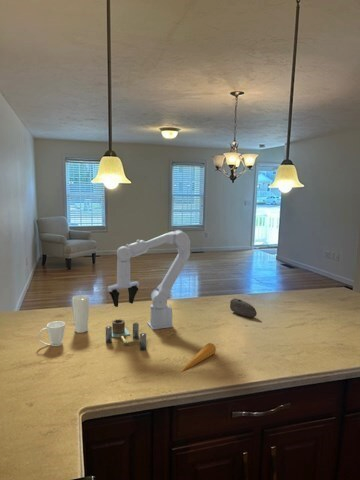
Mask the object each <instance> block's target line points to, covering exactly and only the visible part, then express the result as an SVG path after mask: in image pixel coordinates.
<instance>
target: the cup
mask: <svg viewBox="0 0 360 480" xmlns="http://www.w3.org/2000/svg"><path fill="white" fill-rule="evenodd" d="M65 328H66V322H64V321H62V320H58V321H56V320H55V321H50V322H48V323H47V325H46V327H44V328H42V329H40V330H39V333H38V340H39V341H40V343H41V344H43V345H45V346H51V347H59V346H61V345H62V344H63V340H64V336H65ZM43 331H47V334H48V335H47V336H48V339H49V342H50V343H46V342H45V341H43V340H41V339H40V337H41V333H42V332H43ZM62 346H63V345H62Z"/></svg>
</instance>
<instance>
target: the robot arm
mask: <svg viewBox="0 0 360 480" xmlns="http://www.w3.org/2000/svg"><path fill="white" fill-rule="evenodd" d="M191 243H192V242H191V239H190V237H189V235H188V234H187V233H185V232H184V231H183V230H182V229H176V230H174V231H169V232H166V233H164V234H161V235H159V236H156V237H154V238H151V239H149V240H147V241H145V240H144V239H136V242H133V243H132V242H131V243H129V244H128V243H126V244H125V245H122V246H120V247H118V248H117V250H116V256H117V260H116V283H115V284H111V285H108V286H107V292H108V293H109V295H110V296H111V299H112V302H113V306H114V307H115V308H118V307H119V296H120V292H119V291H118V290H124V289H127V291H128V303H130V304H131V305H132V304H134V300H135V296H136V295H137V293H138V291H139V287H140V282H139V281H137V280H136V281H131V258H134V257H138V256H140V255H144V254H145V253H147V252H148V250H149V249H152V248H155V247H158V246H162V245H164V244H170V245H175V248H176V250H177V255H176V257H175V259H174V260H173V261H172V263H171V265H170V268H168V270H167V272H166V273H165V276H164V277H163V279H162V281H161V282H160V284H159V285H157V287H156V288H155V289H154V290H153V291H151V293H150V299H151V301H152V302H151V304H150V321H147V324H148V325H149V327H150V329H152V330H153V331H155V330H161V329H169V328H173V327H174V326H173V308H172V306H171V305H169V304H168V299H169V297H170V294H171V290H172V288H173V286H174V284H175V283H176V281H177V279H178V277H179V276H180V274H181V272H182V271H183V268H184V267H185V265H186V263H187V262H188V261H189V258H190V256H191ZM167 304H168V305H167Z"/></svg>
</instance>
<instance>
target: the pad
mask: <svg viewBox="0 0 360 480" xmlns="http://www.w3.org/2000/svg"><path fill="white" fill-rule="evenodd" d="M120 335H123V337H126V336H131V333H130V331H129V330H128V329H127V327H126V326H125V332H124V333H122V334H114V333H113V332H112V339H113V338H120Z"/></svg>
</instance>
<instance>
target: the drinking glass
mask: <svg viewBox="0 0 360 480" xmlns="http://www.w3.org/2000/svg"><path fill="white" fill-rule="evenodd" d="M71 305H72V313H73V323H74V332H75V333H78V334H81V333H82V334H83V333H87V332H88V330H89V327H88V326H89V315H90V314H89V312H90V297H89V295H87V294H77V295H74V296H73V297H72V304H71Z"/></svg>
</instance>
